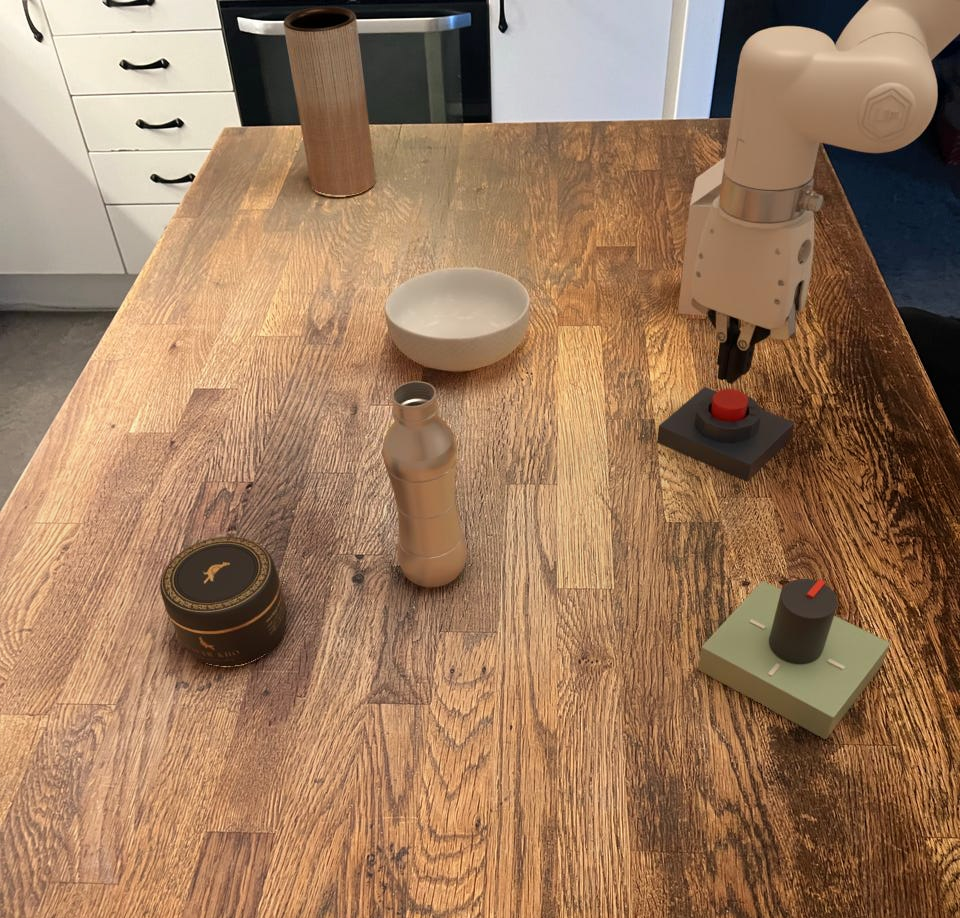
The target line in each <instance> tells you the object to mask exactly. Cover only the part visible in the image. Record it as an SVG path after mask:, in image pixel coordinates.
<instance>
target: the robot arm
mask: <svg viewBox="0 0 960 918" xmlns="http://www.w3.org/2000/svg"><path fill="white" fill-rule="evenodd" d="M959 35H960V0H868V1H866V2H865V4H864V5H863V6H862V7H861V8H860V9H859V10H858V11H857V12H856V13H855V15H854V16H853V17H852V18H851V19H850V21H849V22H848V23H847V24H846V26H845V27H844V29H843V30H842V32H841V33H840V35H839V37H838V38H837V41H836V42H834V41H833V39H832V38H831V37H830V36H829V35H827V34H826V33H824V32H822V31H820V30H816V29H814V28H810V27H805V26H796V25H781V26H773V27H768V28H765V29H762V30H759V31H757V32H755V33H754V34H752V35H751V36H750V37H749V38H748V39H747V40H746V41H745V43H744V45H743V46H742V48H741V51H740V54H739V60H738V64H737V73H736V81H735V86H734V93H733V101H732V107H731V114H730V122H729V130H728V137H727V143H726V149H725V156H724V157H725V162H724V169H723V176H722V183H721V190H720V195H719V196H718V197H717V198H716V199H715V200H714V201H713V204H712V206H711V209H710V211H709V214H708V217H707V220H706V223H705V226H704V229H703V233H702V236H701V240H700V244H699V248H698V252H697V257H696V262H695V267H694V273H693V280H692V295H693V299H692V302H691V304H692V306H693V307H694V308H695V309H697V310H698V311H700V312H701V313H703V314H704V315H708V316H707V317H708V320H709V321H710V323H711V325H712V327H713V328H714V329H715V338H716V340H717V341H718V342H719V347H718V354H717V359H716V365H717V366H718V369H717V370H718V371H717V377H716V378H717V380H720V381H724V380H725V381H726V383H727V384H730V385H734V383H735V382H736V381H737V380H739V379H740V378H741V377H742V376H746V374H748V373H749V371H750V370H751V368H752V364H753V358H754V353H755V348H756V345H757V344H758V343H760V342H762V341H764V340H766V339H770V340H772V341H773V340H775V341H783V342H787V341H789V340H790V339H791V338H792V337H794V336H795V334H796V329H797V327H796V325H797V324H796V314H800V313H801V312H802V311H803V310H804V308H805V306H806V304H807V303H806V302H807V299H808V294H809V288H810V281H811V277H812V276H811V275H812V268H813V258H814V248H815V213H814V212H816V213H817V212H819V210H821V207H822V205H823V203H824V195H822V194H818V193H817V191H815V190H814V183H815V178H813V176H814V172H815V167H816V163H817V158H818V152H819V148H820V143H821V144H825V145H829V146H830V145H831V146H834V147H839V148H842V149H846V150H851V151H856V152H862V153H868V154H882V153H890V152H894V151H896V150H900V149H902V148H905V147H906V146H908V145H909V144H911V143H912V142H914V141H916V139H918V138H919V137H920V136H921V135H922V134H923V132H925V130H926V129H927V127H928V126H929V124H930V123H931V121H932V119H933V117H934V114H935V111H936V108H937V105H938V98H939V97H938V96H939V95H938V82H937V81H938V80H937V77H936V73H935V69H934V67H933V63H932V61H933V60H934V59H935V57H937V56H938V55H939V54H940V53H941V52H942V51H943V50H944V49H945V48H946V47H947V46H949V44H950V43H952V41H953V40H954V39H956V38H957V37H958V36H959ZM742 321H743V325H742Z"/></svg>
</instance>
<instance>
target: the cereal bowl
mask: <svg viewBox="0 0 960 918" xmlns="http://www.w3.org/2000/svg"><path fill="white" fill-rule="evenodd" d="M530 317H531V300H530V295H529V292H528V290H527V289H526V287H525V286H524V285H523V284H522V283H521V282H520V281H518V279H516V278H514V277H513V276H510V275H508V274H506V273H503V272H500V271H497V270H492V269H488V268H481V267H471V266H470V267H468V266H467V267H466V266H465V267H463V266H462V267H461V266H460V267H458V266H457V267H447V268H441V269H435V270H432V271H427V272H424V273H421V274H418V275H415V276H413V277H410V278H409V279H407V280H405V281H403V282H402V283H400V284H398V285H397V286H396V287H395V288H394V289H393V290H392V291H391V292H390V293H389V294H388V296H387V297H386V299H385V302H384V318H385V322H386V327H387V331H388V334H389V335H390V338H391V339H392V342H393V344H395V346H396V348H398V350H399V351H400V352H401V353H402V354H403V355H404V356H406V357H407V358H408V359H410V360H411V361H413V362H414V363H416V364H418V365H421V366H424V367H426V368H431V369H434V370H440V371H446V372H452V373H454V372H455V373H462V372H463V373H464V372H470V371H474V370H477V369H480V368H484V367H487V366H490V365H493V364H496V363H497V362H500V361H501V360H502V359H504V358H506V357H507V356H509V355H511V353H512V352H513V351H515V350H516V348H517V347H518V346H520V343H521V342H522V341H523V339H524V337H525V335H526V334H527V330H528V328H529V323H530Z"/></svg>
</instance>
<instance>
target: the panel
mask: <svg viewBox="0 0 960 918" xmlns="http://www.w3.org/2000/svg"><path fill="white" fill-rule="evenodd" d="M781 590H782V588H781V589H780V588H778V587H777V586H774V585H772V584H770V583H769V582H766V581H764V580H761V581H760V583H758V585H757V586H756V587H755V588H754V589H752V591H751V592H750V594H748V595H747V596H746V598H745V599H744V600H743V601H742V602H741V603H740V604H739V605H738V606H737V607H736V609H734V611H733V612H732V613H731V614H730V615H728V618H727V619H726V620H725V621H723V623H721V625H720V626H719V627H718V628H717V629H716V630H715V632H713V633H712V635H710V637H709V638H708V639H707V640H706V641H705V642H704V643H703V645H702V646H701V647H700V654H699V658H698V664H697V671H699V672H701V673H702V674H705V675H706V676H709V678H712V679H713V680H715V681H718V682H719V683H720V684H723V685H725V686H726V685H727V686H726V687H728V688H730V689H732V690H733V691H735V692H737V691H738V692H737V693H739V692H740V693H739V694H741V695H743V696H745V695H746V696H747V697H746V696H745V697H746V698H748V697H749V698H748V699H750V698H751V699H750V700H752V699H753V700H752V701H754V702H756V701H757V702H758V703H757V702H756V703H757V704H759V703H761V704H762V705H761V704H760V705H761V706H762V707H765V706H766V707H767V709H768V708H769V709H768V710H771V711H772V712H773V713H776V714H777V715H779V716H781V717H783V718H785V719H787V720H788V721H790V722H791V723H793V724H795V725H798V727H801V728H803V729H804V730H806V731H808V732H810V733H812V734H814V735H816V736H817V737H819V736H820V737H819V738H821V739H823V740H825V739H826V740H827V739H828V738H829V736H830V735H831V734H832V732H833V731H834V730H835V728H836V727H837V726H838V725H839V723H840V722H841V721H842V719H843V718H844V716H845V715H846V714H847V713H848V711H849V710H850V709H851V707H852V706H854V705H853V704H854V703H855V702H856V701H857V700H858V698H859V697H860V696H861V694H862V693H863V692H864V690H865V689H866V687H867V686H868V685H869V683H870V682H871V681H872V680H873V678H875V676H876V675H877V673H878V672H879V670H880V669H881V668H882V667H883V664H884V661H885V659H886V656H887V654H888V652H889V648H890V647H891V642H890V641H887V640H886V639H883V638H882V637H880V636H877V635H875V634H874V633H871V632H869V631H867V630H865V629H863V628H861V627H859V626H857V625H855V624H853V623H851V622H848V621H847V620H845V619H842V618H840V617H838V616H836V615H834V618H833V621H832V624H831V627H830V630H829V634H828V637H827V640H826V643H825V646H824V649H823V652H822V654H821V656H820V657H819V658H818V659H816V660H815V661H813V662H810V663H806V664H795V663H790V662H787V661H785V660H783V659H781V658H779V657H778V656H777V655H776V654H775V653H774V652H773V651H772V650H771V648H770V645H769V637H770V633H771V629H772V625H773V621H774V617H775V613H776V609H777V605H778V601H779V597H780V593H781ZM766 707H765V708H766Z"/></svg>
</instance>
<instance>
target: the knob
mask: <svg viewBox="0 0 960 918" xmlns="http://www.w3.org/2000/svg"><path fill="white" fill-rule="evenodd" d="M838 605H839V601H838V596H837V594H836V593H835V591H834V590H833V589H832V588H831V587H830V586H829V585H827V581H826V580H823V579H821V578H819V579H818V580H816V579H812V578H797V579H793V580H791V581H789V582H787V583H786V584H785V585H783V587H782V588H781V593H780V597H779V601H778V605H777V609H776V613H775V617H774V621H773V625H772V629H771V633H770V637H769V645H770V648H771V650H772V651H773V652H774V653H775V654H776V655H777V656H778V657H779V658H781V659H783V660H785V661H787V662H790V663H795V664H806V663H810V662H813V661H815V660H816V659H818V658H819V657H820V656H821V654H822V652H823V649H824V646H825V643H826V640H827V637H828V634H829V630H830V627H831V624H832V621H833V618H834V616H836V615H835V614H836V611H837V609H838Z"/></svg>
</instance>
